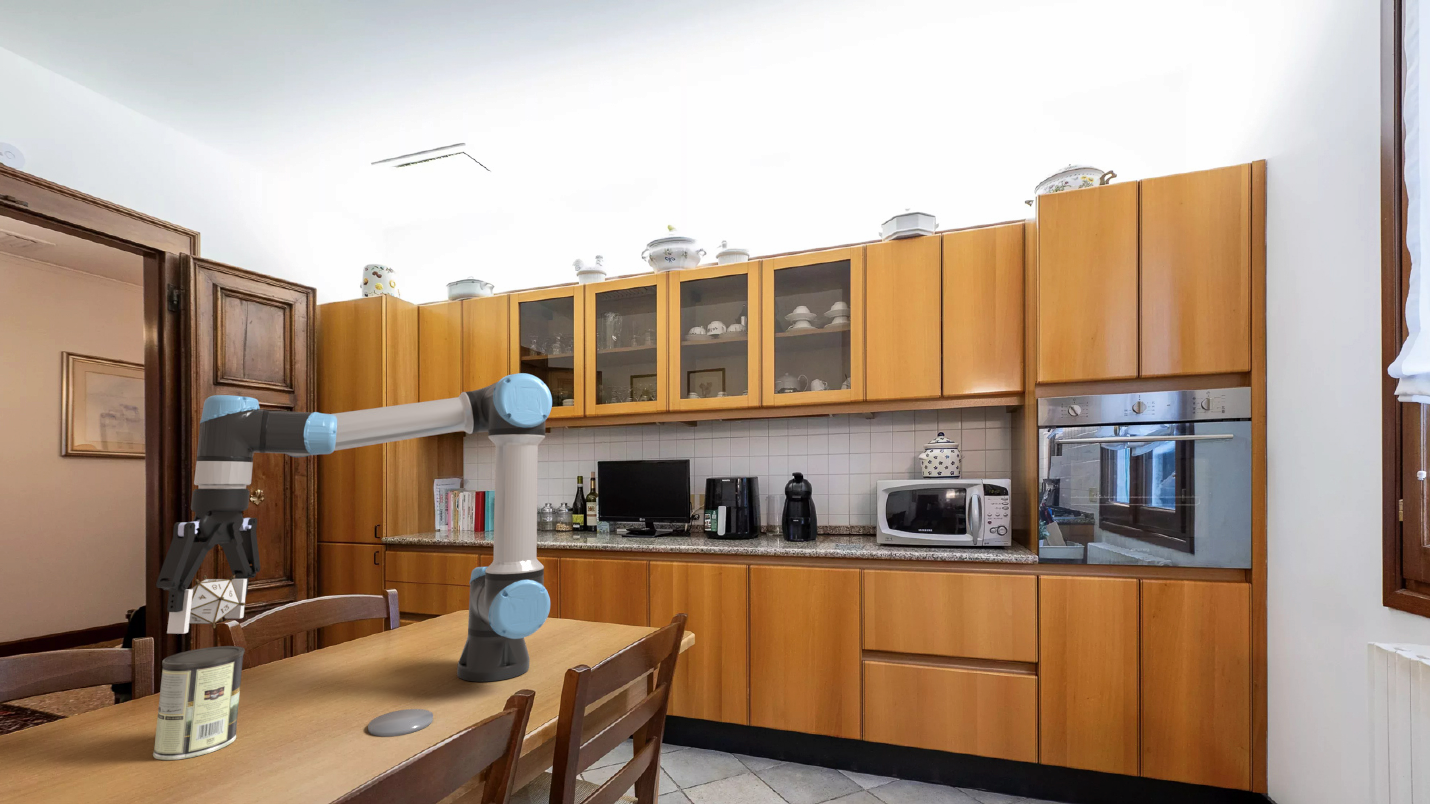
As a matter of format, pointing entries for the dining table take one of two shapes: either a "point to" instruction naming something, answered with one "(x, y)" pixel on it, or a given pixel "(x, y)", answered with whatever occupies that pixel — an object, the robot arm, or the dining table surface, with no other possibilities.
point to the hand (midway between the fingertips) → (207, 625)
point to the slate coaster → (400, 722)
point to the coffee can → (198, 702)
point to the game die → (212, 600)
